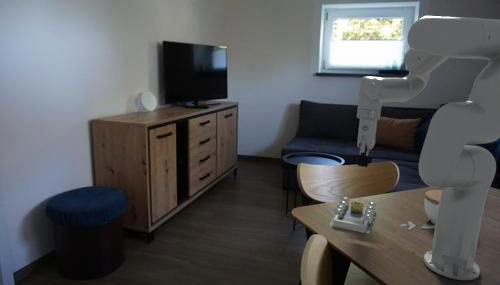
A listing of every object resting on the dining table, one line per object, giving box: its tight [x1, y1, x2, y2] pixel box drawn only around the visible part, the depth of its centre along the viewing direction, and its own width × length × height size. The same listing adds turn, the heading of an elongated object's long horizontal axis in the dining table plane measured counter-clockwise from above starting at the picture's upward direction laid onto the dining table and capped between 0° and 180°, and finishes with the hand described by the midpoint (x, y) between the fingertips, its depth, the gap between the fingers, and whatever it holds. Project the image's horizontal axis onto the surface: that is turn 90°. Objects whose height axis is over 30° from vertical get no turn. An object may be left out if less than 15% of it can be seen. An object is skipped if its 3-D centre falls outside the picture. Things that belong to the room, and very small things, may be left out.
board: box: [328, 204, 377, 235], centre depth 118 cm, size 20×12×3 cm, turn 155°
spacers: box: [333, 196, 377, 226], centre depth 120 cm, size 14×12×3 cm
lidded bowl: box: [423, 189, 443, 225], centre depth 117 cm, size 13×13×11 cm
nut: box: [350, 200, 364, 214], centre depth 123 cm, size 4×4×3 cm
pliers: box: [399, 220, 435, 231], centre depth 116 cm, size 10×2×15 cm
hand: (362, 165), depth 127 cm, fingers closed
